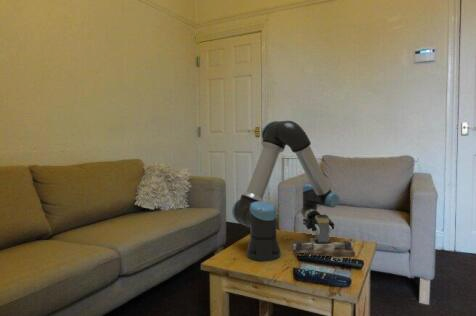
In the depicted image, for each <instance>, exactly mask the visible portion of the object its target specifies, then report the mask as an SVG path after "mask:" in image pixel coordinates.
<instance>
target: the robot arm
mask: <svg viewBox="0 0 476 316" xmlns="http://www.w3.org/2000/svg"><path fill="white" fill-rule="evenodd" d="M260 136H261V139H262V142H261V146H262V150H261V152H260V154H259V158H258V160H257V162H256V165H255V167H254V170H253V172H252V176H251V178H250V182H249V183H248V186H247V189H246V191H245V192H243V193H242V194H241V196H240V198H239V199H238V200H236V201H235V202H234V203H233V205H232V208H231V213H232V217H233V219H234V221H236V222H237V223H238V224H240V225H243V226H245V227H247V228H249V229H250V230H249V231H250V233H249V234H250V237H249V242H248V245H247V249H246V257H247V258H248V259H251V260H254V261H257V262H269V261H270V262H271V261H275V260H278V259H279V258H280V257H281V248H280V246H279V243H278V238H277V216H278V214H277V207H276V206H275V205H274V204H273V203H272V202H268V201H264V195H265V193H266V190H267V188H268V185H269V182H270V179H271V178H272V174H273V171H274V170H275V169H274V168H275V166H276V163H277V161H278V158H279V156H280V154H281V153H283V152H284V151H285V148H286V146H287V147H289V148H290V150H291V152H292V153H295V156H296V157H297V159H298V162H299V164H300V165H301V167H302V169H303V171H304V173H305V176H306V177H307V179H308V181H309V183H307V184H303V186H302V208H301V215H302V217H303V219H302V225H304V226H305V227H306V229H307V230H311V231H312V232H315V233H316V232H317V234H320V228H319V227H318V226H317V225H316V220H315V216H316V215H322V214H321V213H320V212H319V211H318V205H319V206H323V207H326V208H330V209H332V208H333V209H334V208H335V207H337V206H338V204H339V203H340V197H339V195H338V193H336V192H333V191H332V189H331V187H330V185H329V183H328V181H327V179H326V177H325V175H324V172H323V171H322V168H321V167H320V164H319V162H318V160H317V157H316V156H315V154H314V151H313V150H312V147H311V141H310V138H309V137H308V135H307V133H306V131H305V130H304V129H303V128H302V127H301V125H300V124H298V123H297V122H295V121H293V120H282V121H281V120H280V121H277V120H274V121H270V122H268V123H266V124H265V125H264V126H263V128H262V129H261V135H260ZM334 229H335V223H334V222H333V221H332V220H331V218H329V235H332V234H333V230H334Z"/></svg>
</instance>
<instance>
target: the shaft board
mask: <svg viewBox="0 0 476 316" xmlns="http://www.w3.org/2000/svg"><path fill="white" fill-rule="evenodd" d="M353 249H354V244H353V243H352V242H351V241H350V240H343V242H336V241H335V242H333V240H332V239H330V237H329V244H317V243H316V237H315V238H313V237H312V238H311V237H310V238H309V242H303V243H302V241H301V240H295V243H291V250H292V252H293V255H294V257H295V258H298V257H297V255H298V254H299V253H308V254H315V255H325V256H332V257H331V258H333V257H340V258H341V257H342V258H344V257H345V258H347V257H351V258H352V257H355V256H356V255H355V254H356V251H354V250H353Z"/></svg>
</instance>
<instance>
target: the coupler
mask: <svg viewBox="0 0 476 316" xmlns="http://www.w3.org/2000/svg"><path fill="white" fill-rule="evenodd" d="M329 219H330V217H329V216H328V215H327V214H321V215H316V216H315V220H316V225H317V226H318V227H319V228H320V234H317V232H316V231H315V238H316V243H317V244H329V238H330V237H329V235H330V233H329Z"/></svg>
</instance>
